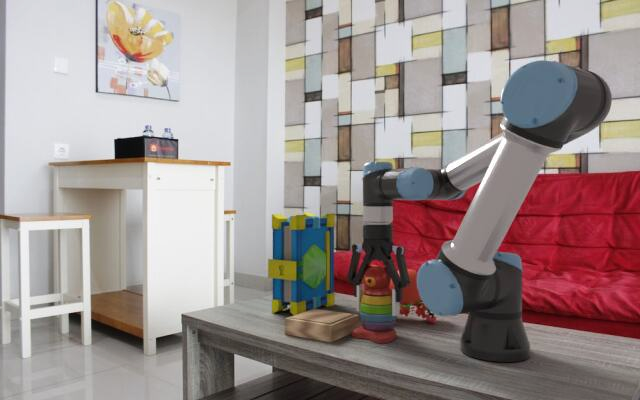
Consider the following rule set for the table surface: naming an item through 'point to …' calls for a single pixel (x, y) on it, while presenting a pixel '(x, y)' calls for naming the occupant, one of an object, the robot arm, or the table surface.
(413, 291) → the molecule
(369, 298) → the stacking bear
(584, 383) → the table surface
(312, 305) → the decorative book
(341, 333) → the oak stand
